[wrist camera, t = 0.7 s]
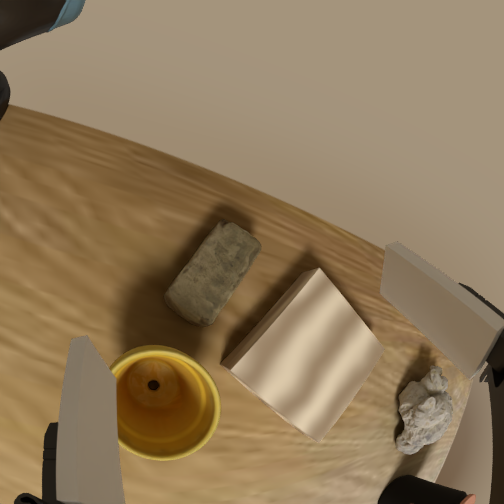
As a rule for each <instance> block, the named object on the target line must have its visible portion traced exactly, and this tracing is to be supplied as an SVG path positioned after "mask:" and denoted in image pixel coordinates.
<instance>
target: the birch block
mask: <svg viewBox="0 0 504 504" xmlns="http://www.w3.org/2000/svg"><path fill="white" fill-rule="evenodd" d="M384 350H385V349H384V347H383V346H382V345H381V344H380V342H379V341H378V340H377V338H376V337H375V336H374V335H373V333H372V332H371V331H370V329H369V328H368V327H367V326H366V324H365V323H364V322H363V321H362V319H361V318H360V317H359V315H358V314H357V313H356V312H355V310H354V309H353V308H352V307H351V305H350V304H349V303H348V302H347V301H346V299H345V298H344V297H343V296H342V294H341V293H340V292H339V291H338V289H337V288H336V287H335V286H334V285H333V283H332V282H331V281H330V280H329V278H328V277H327V276H326V275H325V274H324V272H323V271H322V270H321V269H320V268H317V269H313V270H309V271H306V272H302V274H301V275H300V276H299V277H298V278H297V279H296V281H295V282H294V283H293V284H292V285H291V286H290V288H289V289H288V290H287V291H286V292H285V293H284V294H283V296H282V297H281V298H280V299H279V300H278V301H277V302H276V304H275V305H274V306H273V307H272V308H271V309H270V310H269V311H268V313H267V314H266V315H265V316H264V317H263V318H262V319H261V320H260V322H259V323H258V324H257V325H256V326H255V327H254V328H253V329H252V330H251V331H250V333H249V334H248V335H247V336H246V337H245V338H244V339H243V340H242V341H241V342H240V343H239V344H238V346H237V347H236V348H235V349H234V350H233V351H232V352H231V353H230V354H229V355H228V356H227V357H226V358H225V359H224V360H223V362H222V363H221V364H220V365H221V366H222V367H223V368H225V369H226V370H227V371H228V372H229V373H230V374H231V375H232V376H233V377H234V378H236V379H237V380H238V381H239V382H240V383H241V384H242V385H243V386H245V387H246V388H247V389H248V390H249V391H250V392H251V393H253V394H254V395H255V396H256V397H257V398H258V399H260V400H261V401H262V402H263V403H264V404H266V405H267V406H268V407H269V408H270V409H272V410H273V411H274V412H275V413H277V414H278V415H279V416H280V417H281V418H283V419H284V420H285V421H287V422H288V423H289V424H290V425H292V426H293V427H294V428H295V429H297V430H298V431H299V432H301V433H302V434H304V435H305V436H307V437H309V438H310V439H312V440H314V441H316V442H318V443H320V441H321V440H322V439H323V438H324V436H325V435H326V434H327V433H328V431H329V430H330V429H331V428H332V426H333V425H334V424H335V422H336V421H337V420H338V419H339V417H340V416H341V415H342V413H343V412H344V410H345V409H346V408H347V406H348V405H349V404H350V402H351V401H352V399H353V398H354V397H355V395H356V394H357V392H358V391H359V389H360V388H361V386H362V385H363V383H364V382H365V380H366V379H367V377H368V376H369V374H370V373H371V371H372V369H373V368H374V366H375V365H376V363H377V362H378V360H379V358H380V357H381V355H382V353H383V352H384Z"/></svg>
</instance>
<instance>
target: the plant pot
mask: <svg viewBox="0 0 504 504" xmlns="http://www.w3.org/2000/svg"><path fill="white" fill-rule="evenodd" d="M109 369H110V371H111V372H112V373H113V375H114V376H115V378H116V405H117V430H118V444H119V445H121V446H122V447H123V448H125V449H126V450H128V451H129V452H131V453H133V454H135V455H138V456H140V457H143V458H147V459H152V460H161V461H166V460H174V459H179V458H182V457H185V456H188V455H190V454H192V453H194V452H195V451H197V450H198V449H200V448H201V447H202V446H203V445H205V444H206V443H207V441H208V440H209V439H210V438H211V437H212V435H213V433H214V432H215V430H216V428H217V425H218V422H219V419H220V414H221V401H220V395H219V392H218V389H217V386H216V384H215V382H214V380H213V378H212V377H211V375H210V374H209V373H208V372H207V370H206V369H205V368H204V367H203V366H202V365H201V364H199V363H198V362H197V361H196V360H194V359H193V358H192V357H190V356H189V355H187V354H185V353H183V352H181V351H179V350H177V349H174V348H171V347H167V346H162V345H145V346H140V347H137V348H134V349H131V350H129V351H127V352H126V353H124V354H123V355H121V356H120V357H119V358H118V359H116V360H115V362H114V363H113V364H112V365H111V366H110V368H109ZM151 380H156V381H157V382H158V383H159V387H158V389H156V390H151V389H150V388H149V387H148V383H149V382H150V381H151Z"/></svg>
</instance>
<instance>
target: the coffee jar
mask: <svg viewBox="0 0 504 504" xmlns="http://www.w3.org/2000/svg"><path fill="white" fill-rule="evenodd" d="M475 499H476V495H474V494H469V495H467V494H466V493H465V492H463V491H459V490H456V489H452V488H449V487H445V486H442V485H439V484H435V483H432V482H429V481H426V480H423V479H420V478H418V477H415V476H412V475H406V476H402V477H399V478H397V479H396V480H394V481H393V482H392V483H391V484H390V485H389V486H388V487H387V488H386V489H385V491H384V492H383V494H382V495H381V497H380V499H379V502H378V504H474V503H475Z"/></svg>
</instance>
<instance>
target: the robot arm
mask: <svg viewBox="0 0 504 504" xmlns="http://www.w3.org/2000/svg"><path fill="white" fill-rule="evenodd" d="M84 3H85V0H0V50H2V49H4V48H6V47H9V46H11V45H13V44H16V43H18V42H21V41H23V40H26V39H28V38H31V37H33V36H36V35H39V34H42V33H45V32H49V31H52V30H53V29H55V28H57V27H60V26H63V25H65V24H68V23H70V22H72V21H74V20H75V19H76V18H77V17H78V16H79V15H80V13H81V11H82V9H83V6H84ZM9 99H10V87H9V84H8V81H7V79H6V77H5V75H4V74H3V73H2V72H1V71H0V119H1V118H2V116H3V114H4V112H5V110H6V108H7V106H8V103H9ZM380 294H381V295H382V296H383V297H384V298H385V299H387V300H388V301H389V302H390V303H391V304H392V305H393V306H394V307H395V308H396V309H397V310H398V311H400V312H401V313H402V314H403V315H404V316H405V317H406V318H407V319H408V320H409V321H410V322H411V323H412V324H413V325H414V326H416V327H417V328H418V329H419V330H420V331H421V332H422V333H423V334H424V335H425V336H426V337H427V338H428V339H429V340H430V341H431V342H432V343H433V344H434V345H435V346H436V347H437V348H438V349H439V350H440V351H441V352H442V353H443V354H444V355H445V356H446V357H447V358H448V359H449V360H450V361H451V362H452V363H453V364H454V365H455V366H456V367H457V368H458V369H459V370H460V371H461V372H462V373H463V374H464V375H465V376H466V377H467V378H468V379H469V380H470V379H471V378H472V377H474V376H475V375H476V374H477V373H478V372H479V371H480V369H481V368H482V366H483V365H484V363H485V361H487V363H488V365H487V367H486V368H485V370H484V372H483V373H482V375H481V376H480V382H482V381H483V379H484V377H485V376H486V375H487V377H486V379H485V381H484V382H488V384H489V392H490V402H491V414H492V429H493V465H492V466H493V467H492V483H491V494H490V503H489V504H504V314H503V313H502V312H501V311H500V310H499V309H497V308H496V307H495V306H494V305H492V304H491V303H490V302H488V301H487V300H485V298H483V297H482V296H481V295H478V293H477V292H475V291H474V290H473V289H471V288H470V287H468V286H466V285H463V284H461V283H457V282H455V281H454V280H453V279H451V278H450V277H448V276H447V275H446V274H444V273H443V272H442V271H440V270H439V269H437V268H436V267H435V266H433V265H432V264H430V263H429V262H427V261H426V260H425V259H423V258H421V257H420V256H419V255H417V254H416V253H414V252H413V251H411V250H410V249H408V248H407V247H405V246H404V245H402V244H401V243H399V242H394V243H391V244H389V245H386V249H385V257H384V266H383V273H382V281H381V287H380ZM43 459H44V461H43V467H42V500H41V499H39V498H37V497H35V496H33V495H31V494H29V493H22V494H20V495H19V496H18V497H17V498H16V499H15V501H14V504H125V498H124V492H123V484H122V476H121V468H120V458H119V446H118V430H117V405H116V378H115V376H114V375H113V373H112V372H111V371H110V369H109V368H108V366H107V365H106V363H105V362H104V360H103V359H102V357H101V356H100V354H99V353H98V351H97V350H96V348H95V347H94V345H93V344H92V342H91V341H90V339H89V337H88V336H87V335H86V336H82V337H78V338H73V339H71V343H70V348H69V353H68V358H67V364H66V369H65V375H64V382H63V388H62V395H61V403H60V412H59V422H56V423H50V424H49V426H48V429H47V431H46V433H45V436H44V451H43Z"/></svg>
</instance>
